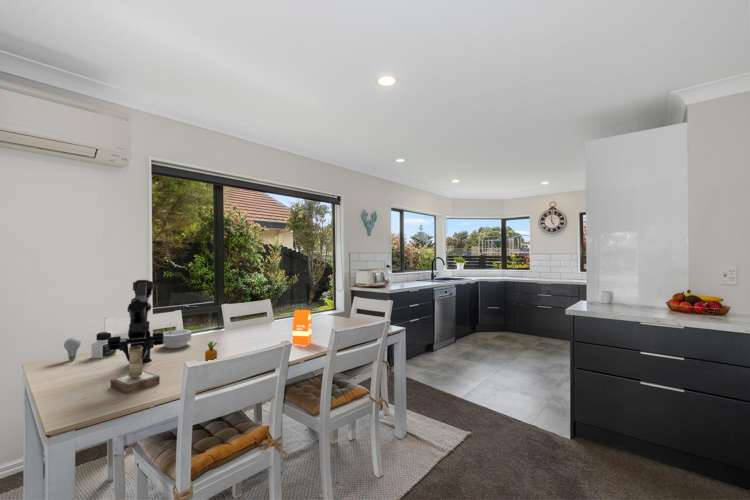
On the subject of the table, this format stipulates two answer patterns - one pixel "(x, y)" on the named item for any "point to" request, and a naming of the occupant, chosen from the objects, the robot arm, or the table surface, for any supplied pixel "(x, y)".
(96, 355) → the medicine bottle
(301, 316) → the orange juice
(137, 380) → the square tray
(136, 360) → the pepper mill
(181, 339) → the paper bowls
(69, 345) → the lightbulb
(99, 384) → the table surface
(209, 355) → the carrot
